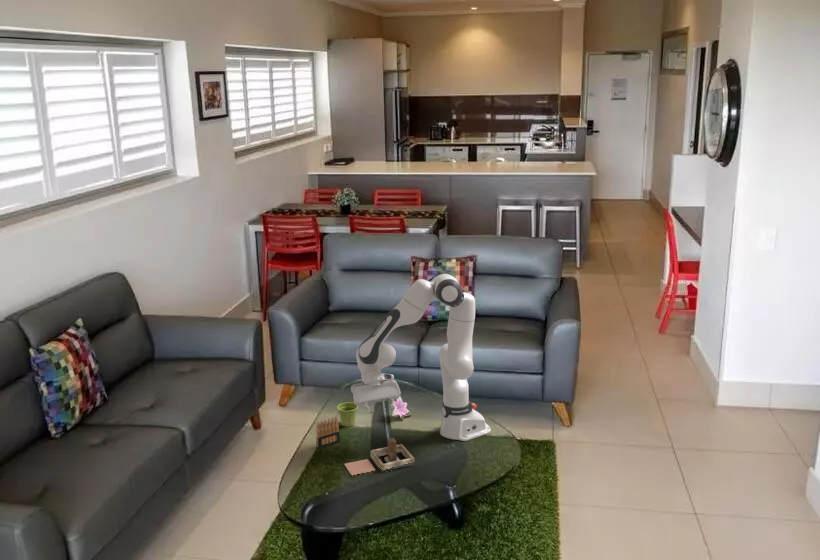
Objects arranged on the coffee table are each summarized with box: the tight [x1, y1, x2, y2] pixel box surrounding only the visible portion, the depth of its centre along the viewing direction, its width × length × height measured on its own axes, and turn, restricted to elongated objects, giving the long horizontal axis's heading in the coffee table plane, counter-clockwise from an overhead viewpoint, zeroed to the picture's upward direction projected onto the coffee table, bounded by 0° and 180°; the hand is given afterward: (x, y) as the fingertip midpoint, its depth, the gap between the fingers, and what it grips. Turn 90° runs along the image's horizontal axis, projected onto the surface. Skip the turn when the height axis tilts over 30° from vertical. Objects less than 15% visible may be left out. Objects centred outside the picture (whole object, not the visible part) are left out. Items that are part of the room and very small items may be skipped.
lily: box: [392, 396, 410, 418], centre depth 345 cm, size 12×12×10 cm
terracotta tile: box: [344, 458, 376, 477], centre depth 299 cm, size 10×10×1 cm
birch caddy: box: [370, 443, 416, 471], centre depth 304 cm, size 14×14×3 cm
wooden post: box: [384, 437, 401, 463], centre depth 303 cm, size 5×5×10 cm
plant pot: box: [336, 402, 359, 428], centre depth 338 cm, size 9×9×9 cm
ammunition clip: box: [315, 416, 341, 449], centre depth 318 cm, size 11×2×12 cm, turn 126°
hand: (381, 410), depth 311 cm, fingers open, 8 cm apart
